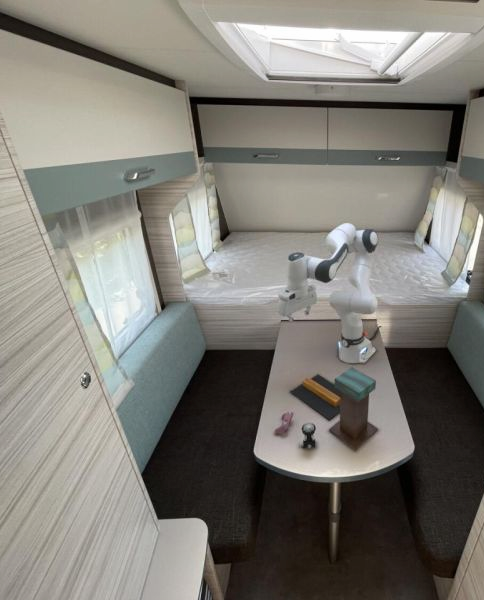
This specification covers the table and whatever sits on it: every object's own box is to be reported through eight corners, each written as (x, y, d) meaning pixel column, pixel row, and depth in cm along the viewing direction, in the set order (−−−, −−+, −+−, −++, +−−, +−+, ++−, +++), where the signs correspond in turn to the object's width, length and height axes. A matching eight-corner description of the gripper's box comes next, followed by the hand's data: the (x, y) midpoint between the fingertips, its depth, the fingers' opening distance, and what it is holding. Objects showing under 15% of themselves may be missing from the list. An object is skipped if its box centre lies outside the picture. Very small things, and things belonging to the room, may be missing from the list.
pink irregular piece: (283, 438, 132) (289, 428, 128) (273, 433, 132) (279, 422, 128) (290, 420, 140) (297, 410, 137) (281, 415, 140) (287, 405, 137)
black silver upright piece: (298, 451, 124) (297, 432, 120) (299, 440, 129) (298, 421, 125) (316, 450, 125) (315, 431, 120) (316, 439, 129) (315, 420, 125)
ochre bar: (308, 382, 161) (307, 377, 160) (341, 403, 147) (341, 398, 146) (302, 385, 159) (302, 380, 157) (335, 407, 145) (335, 402, 144)
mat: (317, 375, 167) (317, 374, 167) (356, 399, 150) (356, 398, 150) (290, 392, 155) (290, 391, 155) (329, 420, 139) (329, 419, 138)
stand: (351, 413, 143) (353, 363, 132) (377, 430, 134) (381, 379, 123) (329, 431, 133) (329, 379, 123) (355, 450, 125) (357, 397, 114)
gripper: (310, 282, 152) (311, 308, 158) (274, 294, 139) (277, 323, 144) (319, 285, 148) (320, 312, 154) (284, 298, 135) (286, 328, 140)
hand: (299, 317), depth 149 cm, fingers open, 8 cm apart
